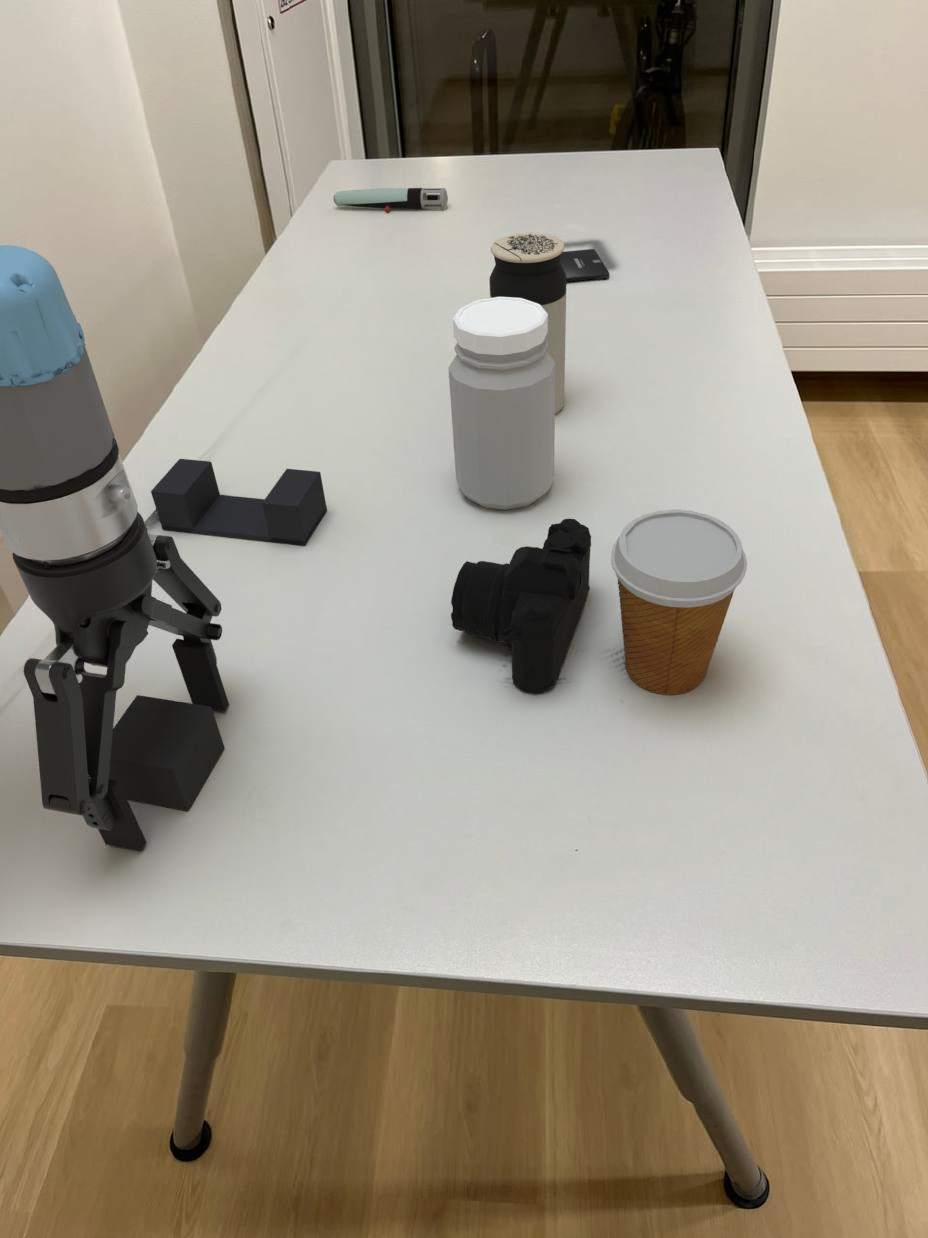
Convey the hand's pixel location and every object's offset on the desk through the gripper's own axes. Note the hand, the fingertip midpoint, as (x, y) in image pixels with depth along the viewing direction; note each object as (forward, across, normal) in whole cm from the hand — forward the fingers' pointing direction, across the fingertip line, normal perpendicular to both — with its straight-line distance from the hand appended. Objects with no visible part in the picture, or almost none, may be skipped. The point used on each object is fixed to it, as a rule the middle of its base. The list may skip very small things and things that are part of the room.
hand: (171, 770), depth 69 cm
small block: (0, 0, 0) cm, 0 cm away
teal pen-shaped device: (0, +122, +22) cm, 124 cm away
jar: (+1, +41, -16) cm, 44 cm away
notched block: (0, +31, +8) cm, 32 cm away
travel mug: (0, +58, -15) cm, 60 cm away
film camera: (+1, +20, -22) cm, 30 cm away
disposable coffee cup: (+1, +18, -34) cm, 38 cm away
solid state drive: (0, +99, -14) cm, 100 cm away
